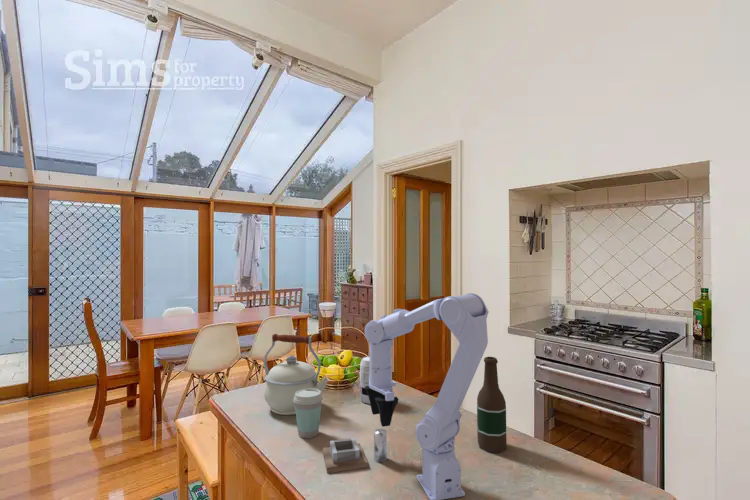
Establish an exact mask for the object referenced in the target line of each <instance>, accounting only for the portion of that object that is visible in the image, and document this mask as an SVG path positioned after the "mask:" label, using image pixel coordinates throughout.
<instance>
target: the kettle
mask: <svg viewBox="0 0 750 500" xmlns="http://www.w3.org/2000/svg"><path fill="white" fill-rule="evenodd" d="M271 338H272V339H271V342H272V343H271V346H270V348H269V349H268V350H267V351H266V353H265V355H264V357H263V362H262V363H263V367H264V371H265V374H266V375H265V382H266V383H265V386H264V389H263V397H264V399H265V402H266V403H267V404H268V405H269V406H270V407H269V408H270V411H272V412H273V413H274V414H276V415H280V416H281V415H283V416H285V415H286V416H291V415H296V410H295V402H294V401H293V400H294V396H295V393H296V392H297V391H299V390H302V389H308V388H313V389H318V390H320V391H321V393H322V392H323V391H324V389H325V387H326V386H327V383H328V382H329V381H330V379H329V378H328V377H323V378H322V380H321V381H319V380H318V377H319V376H320V372H321V369H322V367H321V365H322V364H321V360H320V358H319V356H318V354H317V353H316V352H315V351H314V349H313V347H312V336H311V335H310V336H309V335H307V336H302V335H298V334H297V335H295V334H277V333H273V334H272V336H271ZM277 341H278V342H283V343H291V344H293V343H294V344H304V343H305V344H307V345H308V349H309V351H310V353H311V354H312V356H313V357H314V358H315V360H316V362H317V366H318V367H317V371H315V370H314V368H313V367H312V365H311V364H309V363H306V362H304V361H301V360H300V361H299V360H298V358H297V357H296V356H295V355H293V354H290V355H289V356H288V357H286V359H285V361H284V362H280V363H278V364H276V365H274V366H273V367H272V368H270V370H269V367H268V364H267V357H268V355H269V353H270V352H271V351H272V350H273V348H274V347H275V344H276V342H277Z"/></svg>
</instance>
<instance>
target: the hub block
mask: <svg viewBox="0 0 750 500" xmlns="http://www.w3.org/2000/svg"><path fill="white" fill-rule="evenodd" d="M322 455H323V460H324V464H325V465H324V466H325V469H326V470H325V471H326V473H327V474H328V473H336V472H344V471H351V470H359V469H364V468H368V464H369V462H368V459H367V458H366V455H365V453H364V451H363V448H362V446H361V443H357V441H356V438H355V437H351V438H343V439H335V440H330V441H329V446H327V447H326V446H325V447H322Z"/></svg>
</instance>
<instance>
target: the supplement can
mask: <svg viewBox="0 0 750 500" xmlns="http://www.w3.org/2000/svg"><path fill="white" fill-rule="evenodd" d="M359 364H360V365H359V366H360V367H359V368H360V370H359V371H360V372H359V375H360V376H359V378H360V381H359V384H360V385H359V386H360V389H359V391H360V392H359V393H360V395H359V397H360V401H362V403H365V404H368V405H370V400H369V397H368V394H367V392H366V390H365V386H369V376H370V357H369V356H363V357H362V358H361V360H360V363H359Z"/></svg>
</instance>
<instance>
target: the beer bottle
mask: <svg viewBox="0 0 750 500" xmlns="http://www.w3.org/2000/svg"><path fill="white" fill-rule="evenodd" d="M483 362H484V369H483V370H484V373H483V375H484V376H483V383H482V384H483V385H482V387H481V389H479V392H478V395H477V398H476V422H477V423H476V425H477V426H476V431H477V433H476V435H477V436H476V437H477V444H478V447H479V449H481V450H483V451H485V452H486V453H494V454H499V453H501V452H504V451H506V449H507V406H506V405H507V404H506V399H505V397H504V394H503V392H502V390H501V389H500V385H499V376H498V363H499V362H498V358H496V357H495V356H486V357H485V356H484V359H483Z"/></svg>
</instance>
